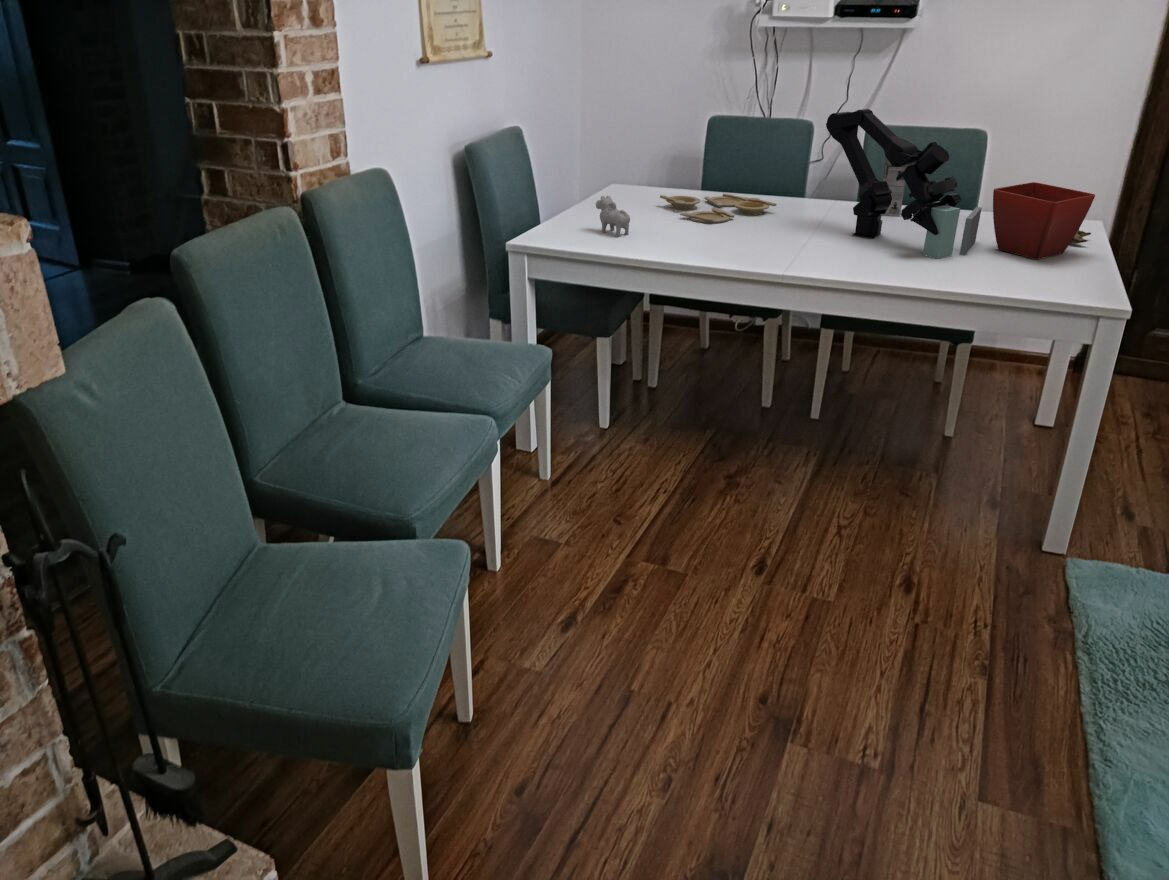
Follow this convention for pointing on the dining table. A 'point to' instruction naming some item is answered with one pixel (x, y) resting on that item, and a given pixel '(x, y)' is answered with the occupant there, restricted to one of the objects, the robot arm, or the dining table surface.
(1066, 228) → the plant pot
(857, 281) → the dining table surface
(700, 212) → the tableware set
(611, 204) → the dog figurine
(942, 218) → the cabinet box
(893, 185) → the coffee box
